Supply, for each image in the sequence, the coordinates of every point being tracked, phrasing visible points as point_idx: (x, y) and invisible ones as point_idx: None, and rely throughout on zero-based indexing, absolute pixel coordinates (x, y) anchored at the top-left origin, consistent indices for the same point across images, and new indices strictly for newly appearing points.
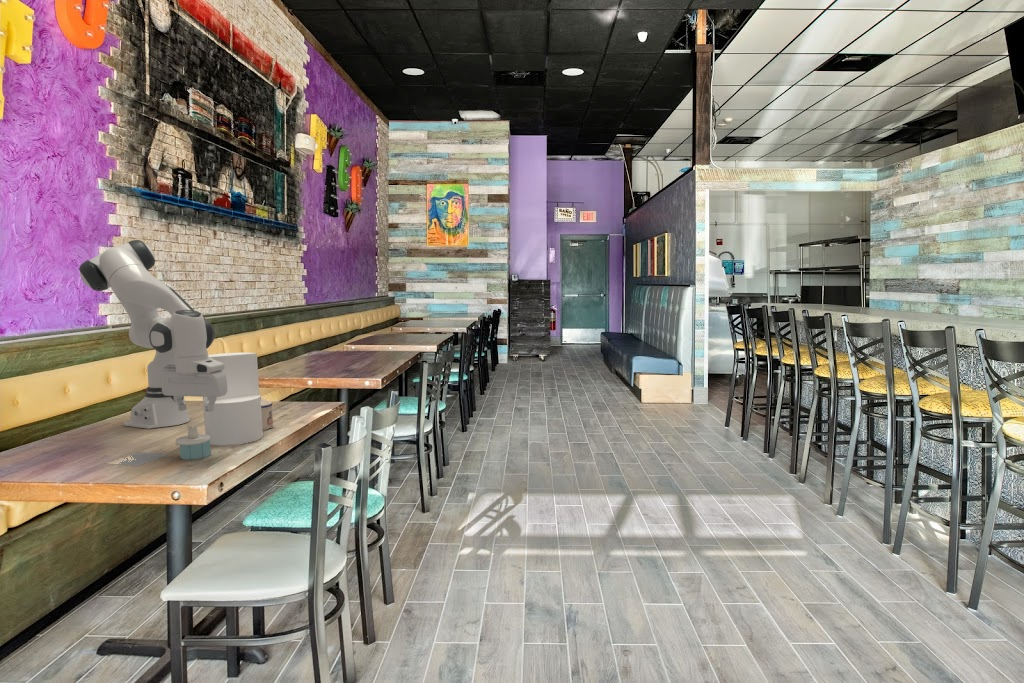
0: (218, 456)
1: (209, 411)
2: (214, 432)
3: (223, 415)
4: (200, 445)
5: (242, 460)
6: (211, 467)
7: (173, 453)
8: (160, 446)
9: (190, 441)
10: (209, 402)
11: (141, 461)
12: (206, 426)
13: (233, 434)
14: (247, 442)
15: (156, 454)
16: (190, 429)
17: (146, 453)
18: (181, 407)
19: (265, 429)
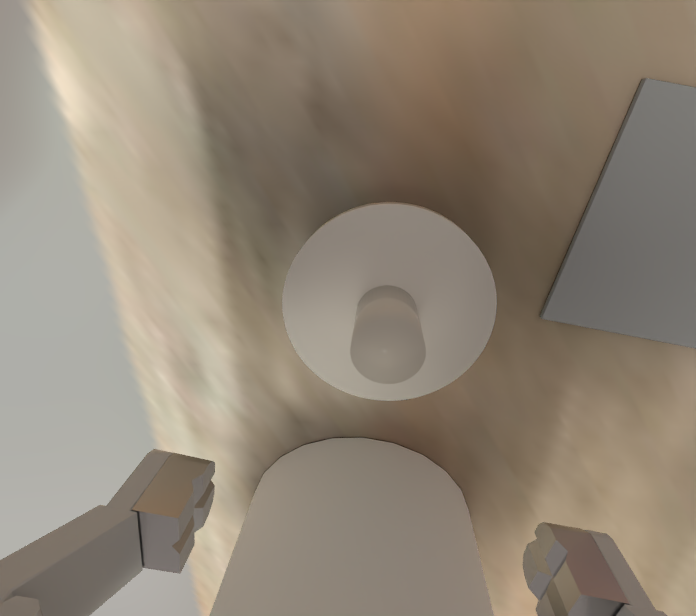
0: (274, 289)
1: (165, 452)
2: (389, 496)
3: (319, 590)
4: None
5: (108, 221)
6: (178, 84)
7: (537, 343)
8: (657, 451)
9: (347, 215)
10: (43, 554)
11: (658, 178)
12: (451, 545)
13: (296, 485)
14: (268, 471)
15: (619, 313)
16: (384, 314)
17: (686, 331)
18: (572, 558)
19: None
